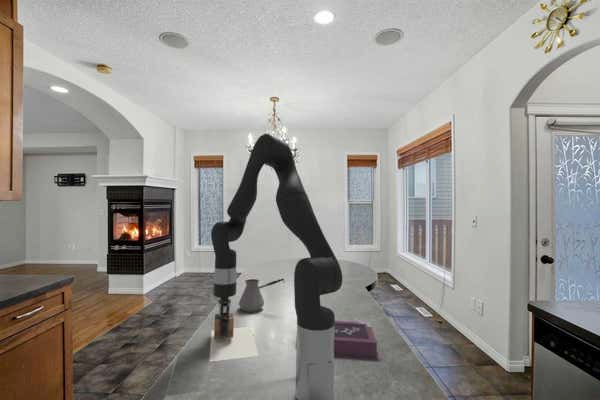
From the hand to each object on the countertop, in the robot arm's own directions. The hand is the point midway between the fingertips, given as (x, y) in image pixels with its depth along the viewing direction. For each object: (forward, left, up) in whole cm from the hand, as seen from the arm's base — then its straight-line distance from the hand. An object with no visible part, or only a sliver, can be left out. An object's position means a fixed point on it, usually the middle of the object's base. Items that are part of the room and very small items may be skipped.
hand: (223, 331), depth 95 cm
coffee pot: (+29, -17, -4) cm, 34 cm away
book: (-8, -37, -5) cm, 38 cm away
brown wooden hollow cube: (0, 0, -1) cm, 1 cm away
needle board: (-3, -3, -4) cm, 6 cm away
